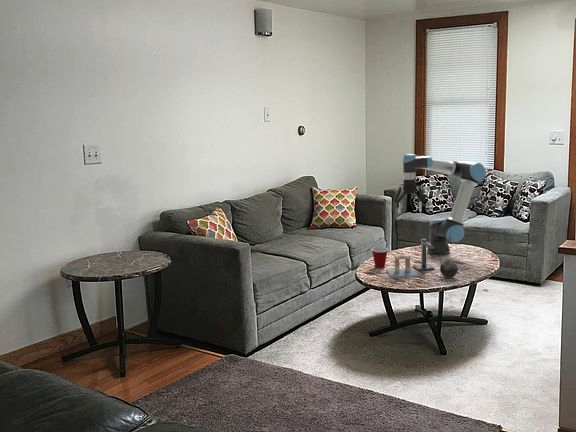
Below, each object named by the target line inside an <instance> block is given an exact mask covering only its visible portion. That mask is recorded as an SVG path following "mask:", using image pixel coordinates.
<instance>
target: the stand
mask: <svg viewBox="0 0 576 432" xmlns="http://www.w3.org/2000/svg"><path fill="white" fill-rule="evenodd" d="M420 242H421V243H420V244H421V246H420V247H421V248H420V249H421V250H420V251H421V253H420V255H421V256H420V259H421V261H420V262H421V264H413V268H414V269H415V270H416V271H417V272H426V271H435V267H434V266H433V265H432V264H430V263H427V248H430V249H431V250H434V249H435V247H434V246H433V245H431V244H430V243H429V242H428V241H427V238H421V239H420Z"/></svg>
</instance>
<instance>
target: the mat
mask: <svg viewBox="0 0 576 432" xmlns="http://www.w3.org/2000/svg"><path fill="white" fill-rule="evenodd" d="M385 272H386V273H387V275H389V276H390V277H391V279H405V278H407V279H408V278H418V277H419V278H420V274H419V273H418V272H416V271H415V270H414V269H413V268H412V267H410V273H407V272H406V271H405V268H399V274H397V273H395V268H394V269H393V268H392V269H385Z"/></svg>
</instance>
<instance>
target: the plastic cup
mask: <svg viewBox="0 0 576 432" xmlns="http://www.w3.org/2000/svg"><path fill="white" fill-rule="evenodd" d="M371 251H372V252H371V253H372V257H373V262H374V267H375V268H376V269H384V268H385V266H386V261H387V255H388V253H389V252H388V251H389V248H387V247H384V246H374V247H371Z"/></svg>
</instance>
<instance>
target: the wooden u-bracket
mask: <svg viewBox="0 0 576 432" xmlns="http://www.w3.org/2000/svg"><path fill="white" fill-rule="evenodd" d="M404 259H405V262H404V263H405V266H404V269H405V271H406V272H407V273H410V268H411V255H410V254H409V253H408V254H407V253H405V254H395V255H394V269H395V273H397V274H399V269H400V260H404Z"/></svg>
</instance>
